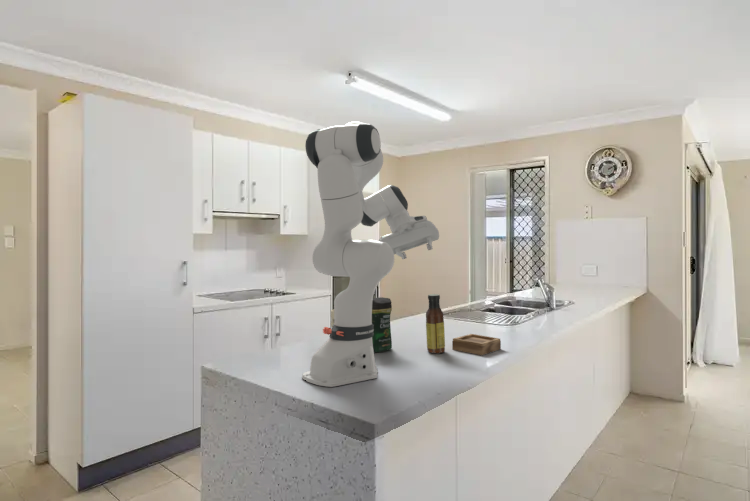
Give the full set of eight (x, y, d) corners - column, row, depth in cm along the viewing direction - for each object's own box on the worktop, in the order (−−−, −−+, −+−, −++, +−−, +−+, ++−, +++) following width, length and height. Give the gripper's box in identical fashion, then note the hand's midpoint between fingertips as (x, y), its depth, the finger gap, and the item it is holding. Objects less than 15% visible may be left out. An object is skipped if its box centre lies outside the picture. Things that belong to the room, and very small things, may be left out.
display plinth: (481, 355, 154) (481, 344, 154) (452, 349, 163) (452, 338, 163) (500, 349, 162) (500, 338, 162) (471, 343, 171) (471, 333, 171)
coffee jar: (375, 354, 156) (375, 300, 156) (360, 350, 162) (360, 297, 162) (396, 349, 163) (395, 297, 162) (381, 346, 169) (380, 295, 168)
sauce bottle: (444, 349, 162) (444, 293, 162) (445, 354, 156) (445, 295, 155) (425, 349, 163) (425, 293, 162) (426, 354, 156) (425, 295, 156)
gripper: (375, 232, 163) (387, 256, 153) (429, 214, 165) (444, 236, 155) (378, 245, 168) (390, 269, 157) (431, 227, 169) (445, 250, 159)
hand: (417, 253), depth 156 cm, fingers open, 8 cm apart
